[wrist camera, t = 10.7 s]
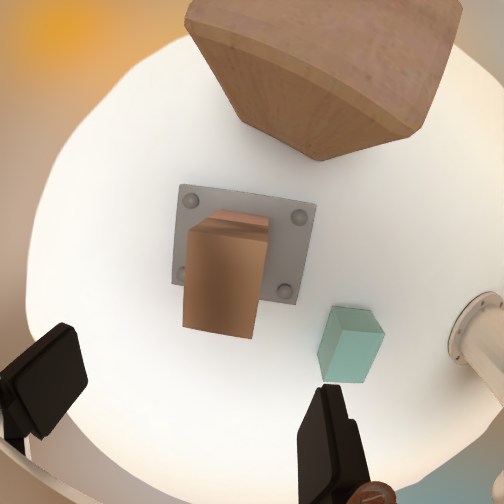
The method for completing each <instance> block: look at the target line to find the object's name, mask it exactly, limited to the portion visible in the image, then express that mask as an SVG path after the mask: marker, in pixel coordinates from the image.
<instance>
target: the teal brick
mask: <svg viewBox="0 0 504 504" xmlns="http://www.w3.org/2000/svg"><path fill="white" fill-rule="evenodd" d="M384 336H385V333H384V331H383V329H382V328H381V326H380V325H379V323H378V322H377V320H376V319H375V317H374V316H373V314H372V313H371V311H369V310H360V309H352V308H344V307H336V306H332V309H331V312H330V315H329V319H328V322H327V325H326V328H325V332H324V335H323V338H322V341H321V344H320V347H319V350H318V353H317V355H318V360H319V364H320V369H321V374H322V378H323V382H341V383H363V382H364V380H365V378H366V376H367V374H368V372H369V370H370V368H371V365H372V363H373V361H374V359H375V357H376V354H377V352H378V350H379V348H380V345H381V343H382V340H383V338H384Z"/></svg>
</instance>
